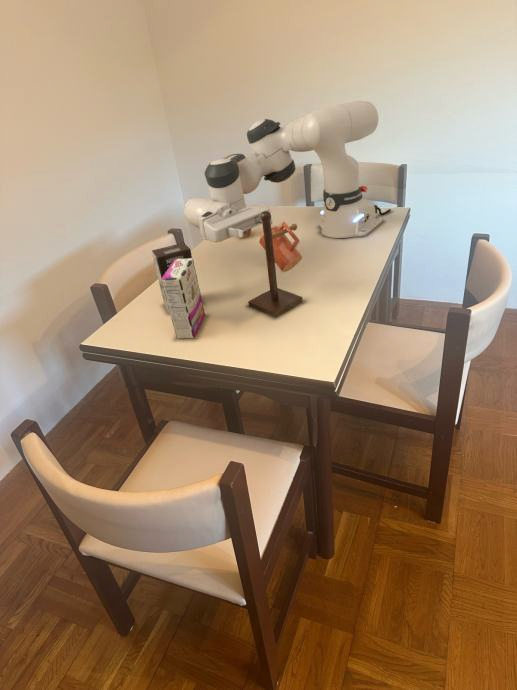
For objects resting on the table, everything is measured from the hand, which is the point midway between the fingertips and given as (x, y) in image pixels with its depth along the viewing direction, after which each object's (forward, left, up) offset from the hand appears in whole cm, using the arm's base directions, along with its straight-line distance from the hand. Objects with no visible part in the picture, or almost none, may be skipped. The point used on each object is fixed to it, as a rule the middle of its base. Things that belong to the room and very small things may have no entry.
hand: (257, 227), depth 127 cm
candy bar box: (+27, +2, -17) cm, 32 cm away
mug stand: (+4, +10, -17) cm, 20 cm away
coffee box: (+21, -10, -17) cm, 29 cm away
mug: (0, +13, -6) cm, 15 cm away
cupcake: (-23, -34, -17) cm, 45 cm away
